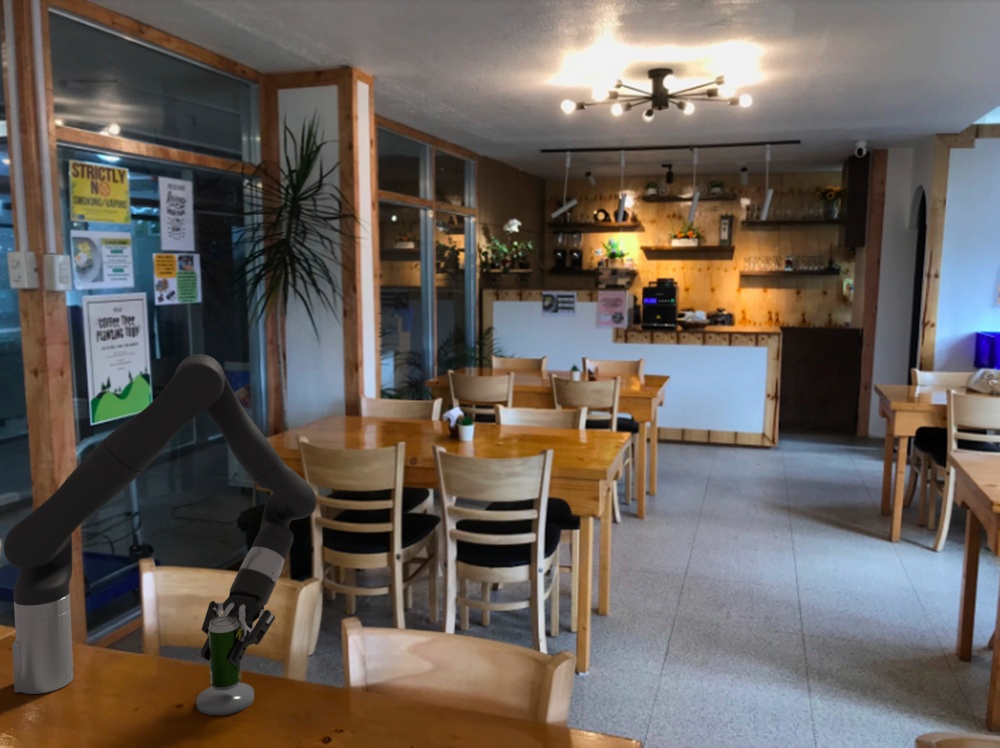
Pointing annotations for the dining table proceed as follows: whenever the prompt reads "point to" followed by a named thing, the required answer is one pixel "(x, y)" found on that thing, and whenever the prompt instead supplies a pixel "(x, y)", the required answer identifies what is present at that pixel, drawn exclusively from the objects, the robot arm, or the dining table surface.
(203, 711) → the smooth grey oval object
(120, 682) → the dining table surface
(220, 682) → the beer can
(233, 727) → the dining table surface
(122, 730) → the dining table surface
